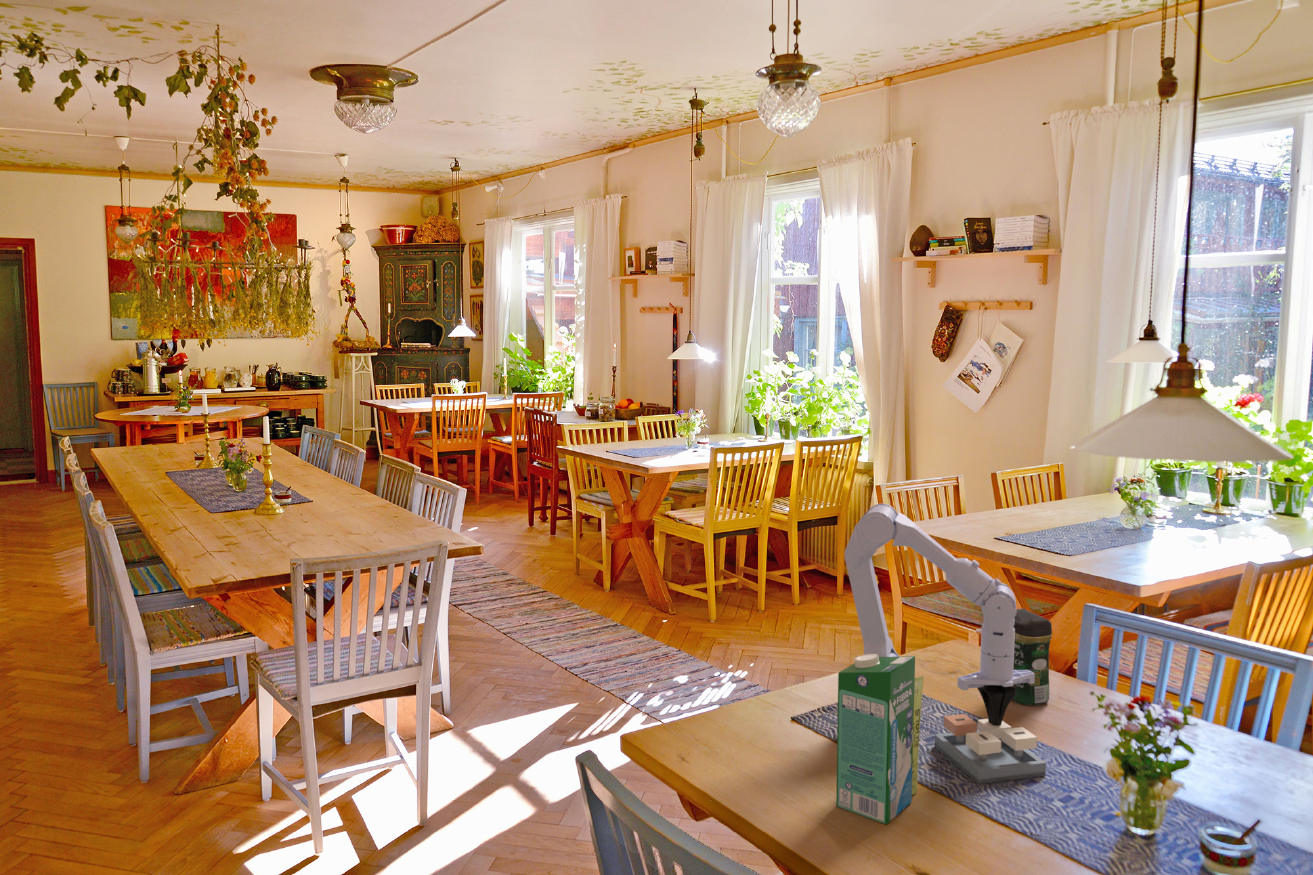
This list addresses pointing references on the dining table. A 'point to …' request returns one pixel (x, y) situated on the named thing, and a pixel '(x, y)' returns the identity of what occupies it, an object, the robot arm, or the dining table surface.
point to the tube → (916, 729)
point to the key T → (1019, 740)
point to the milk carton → (875, 736)
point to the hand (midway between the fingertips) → (994, 723)
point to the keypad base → (990, 761)
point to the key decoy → (960, 725)
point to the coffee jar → (1032, 656)
